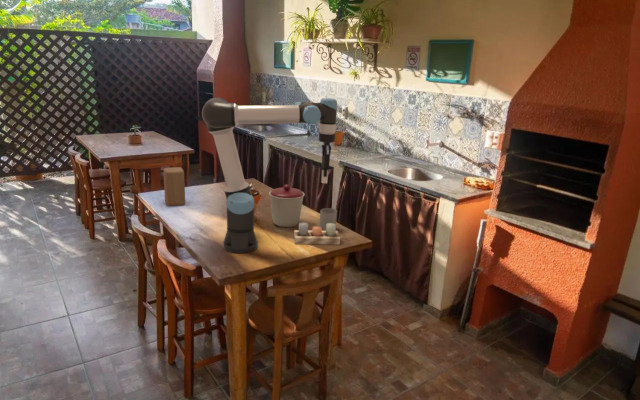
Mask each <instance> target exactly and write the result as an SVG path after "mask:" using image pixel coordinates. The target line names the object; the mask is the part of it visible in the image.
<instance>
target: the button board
mask: <svg viewBox="0 0 640 400" xmlns="http://www.w3.org/2000/svg"><path fill="white" fill-rule="evenodd" d="M293 233H294V234H293V239H294V244H295V245H339V244H341V237H340V234H339V231H338V230H336V231H335V236H327V235H326V231H322V235H321V236H312V229H311V230H310V229H308V235H306V236H301V235H299V229H298V230H297V229H294V230H293Z"/></svg>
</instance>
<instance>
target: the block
mask: <svg viewBox="0 0 640 400" xmlns="http://www.w3.org/2000/svg"><path fill="white" fill-rule="evenodd" d="M185 181H186V180H185V171H184V169H183V168H182V167H180V166H177V167H165V168H163V185H164V187H163V188H164V202H165V204H166V206H167V207H173V206H184V205H186V189H185V188H186V187H185V184H186V183H185Z"/></svg>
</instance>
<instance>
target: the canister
mask: <svg viewBox="0 0 640 400" xmlns="http://www.w3.org/2000/svg"><path fill="white" fill-rule="evenodd" d="M268 196H270V198H269V199H270V209H271V217H272V222H273V224H274V225H276V226H278V227H281V228H290V227H296V226H297V225H299V223H300V218H301V214H302V207H303V201H304V197H305V192H304V191H302V190H300V189H298V188H294V187H291V185H290V184H284V185H283V187H277V188H273V189H272V190H270V191H269V192H268Z"/></svg>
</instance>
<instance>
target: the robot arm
mask: <svg viewBox="0 0 640 400" xmlns="http://www.w3.org/2000/svg"><path fill="white" fill-rule="evenodd" d="M337 114H338V100H337V99H335V98H327V97H325V98H324V97H323V98H321V99H320V101H319V102H310V101H309V102H308V101H296V102H294V104H280V105H279V104H277V105H276V104H273V105H271V104H269V105H267V104H264V105H262V104H261V105H259V104H258V105H254V104H253V105H249V104H248V105H238V104H236V103H235V102H228V101H227V100H226V99H224V98H221V97H213V98H209V99H208V100H207V101H206V102H205V104H204V105H203V107H202V110H201V117H202V120H203V122H204V123H205V124H206V128H207V131H208V133H210V134H211V135H212V136H213V139H214V143H215V147H216V151H217V152H216V153H217V154H218V159H219V162H220V167H221V170H222V173H223V178H224V182H225V188H223V189H224V195H225V198H226V199H225V200H226V232H225V236H224V237H223V238H224V239H223V243H222V247H223V249H224V250H225V251H226V252H229V253H233V254H244V253H245V254H246V253H250V252H254V251H255V250H257V248H258V243H259V242H258V239H257V236H256V233H255V229H254V228H255V198H254V196H253V194H252V191H251V186H250V184H249V183H248V182H247V181H246V180H245V177H244V173H243V167H242V164H241V161H240V156H239V152H238V147H237V144H236V141H235V135H234V132H233V130H234V129H235V127H237V126H239V125H258V124H259V125H264V124H267V125H268V124H269V125H270V124H309V125H315V124H317V123H319V124H318V127H319V128H318V132H319V133H318V142H321V143H323V144H322V145H321V183H322V184H328V178H329V170H330V161H331V153H332V152H331V151H332V145H331V143H334V142H336V132H337V128H338V126H337Z"/></svg>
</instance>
